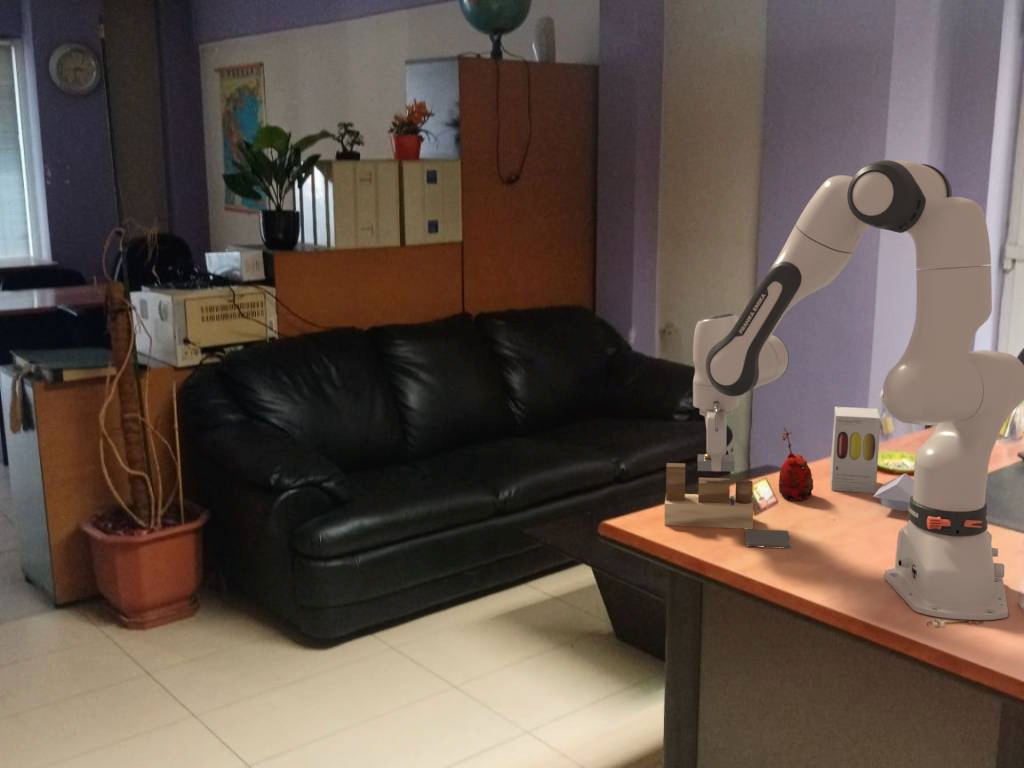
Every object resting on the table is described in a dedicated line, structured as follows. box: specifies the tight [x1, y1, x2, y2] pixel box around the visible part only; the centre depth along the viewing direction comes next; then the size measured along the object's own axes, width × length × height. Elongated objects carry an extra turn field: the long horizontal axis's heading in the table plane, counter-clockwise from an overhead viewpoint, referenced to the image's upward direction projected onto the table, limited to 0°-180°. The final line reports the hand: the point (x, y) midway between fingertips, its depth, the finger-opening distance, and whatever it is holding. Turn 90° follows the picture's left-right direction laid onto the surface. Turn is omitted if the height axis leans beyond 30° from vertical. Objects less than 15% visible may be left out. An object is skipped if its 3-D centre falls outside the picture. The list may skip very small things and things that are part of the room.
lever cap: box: [697, 453, 735, 472], centre depth 201 cm, size 5×7×3 cm
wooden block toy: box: [664, 462, 754, 529], centre depth 203 cm, size 6×17×12 cm, turn 79°
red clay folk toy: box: [778, 427, 814, 502], centre depth 216 cm, size 8×7×15 cm
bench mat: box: [744, 528, 792, 549], centre depth 193 cm, size 8×8×1 cm
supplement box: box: [829, 406, 881, 494], centre depth 222 cm, size 10×9×17 cm
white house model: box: [872, 472, 914, 512], centre depth 209 cm, size 9×7×13 cm
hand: (715, 465), depth 201 cm, fingers closed on lever cap, 5 cm apart
